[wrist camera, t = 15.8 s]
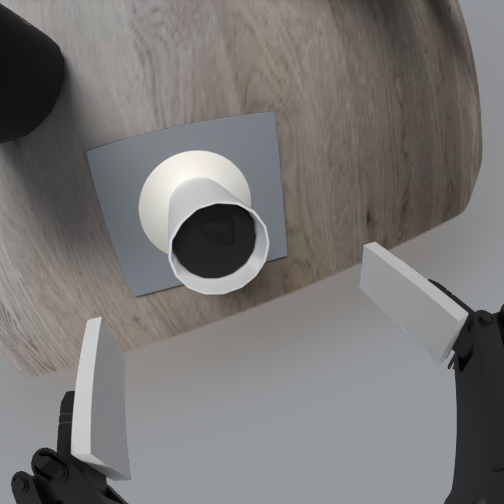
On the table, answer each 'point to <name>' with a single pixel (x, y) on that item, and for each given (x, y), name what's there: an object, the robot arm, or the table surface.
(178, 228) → the white cup
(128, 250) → the board
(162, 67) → the table surface
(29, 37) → the coffee jar
